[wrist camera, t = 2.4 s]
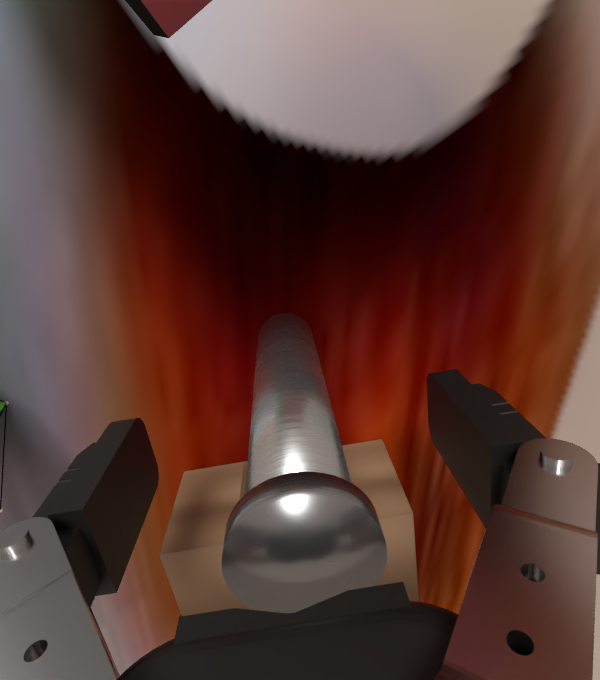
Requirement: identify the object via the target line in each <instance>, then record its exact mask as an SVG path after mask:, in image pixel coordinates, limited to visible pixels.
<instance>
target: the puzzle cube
mask: <svg viewBox="0 0 600 680" xmlns="http://www.w3.org/2000/svg"><path fill="white" fill-rule="evenodd" d="M125 1H126V2H127V3H128V4H129V6H130V7H131V8H132V9H133V10H134V12H135V13H136V14H137V15H138V16H139V18H140V19H141V20H142V21H143V22H144V24H145V25H146V26H147V27H148V28H149V30H150V31H151V32H152V33H153V34H154V35H157V36H161V37H166V38H170V37H171V36H172V35H173V34H174V33H175V32H176V31H178V30H179V29H180V28H181V27H182V26H183V25H184V24H186V23H187V22H188V21H189V20H190V19H191V18H192V17H193V16H195V15H196V14H197V13H198V12H199V11H200V10H202V9H203V8H204V7H205V6H206V5H207V4H208V3H209V2H211V1H212V0H125Z"/></svg>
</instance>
